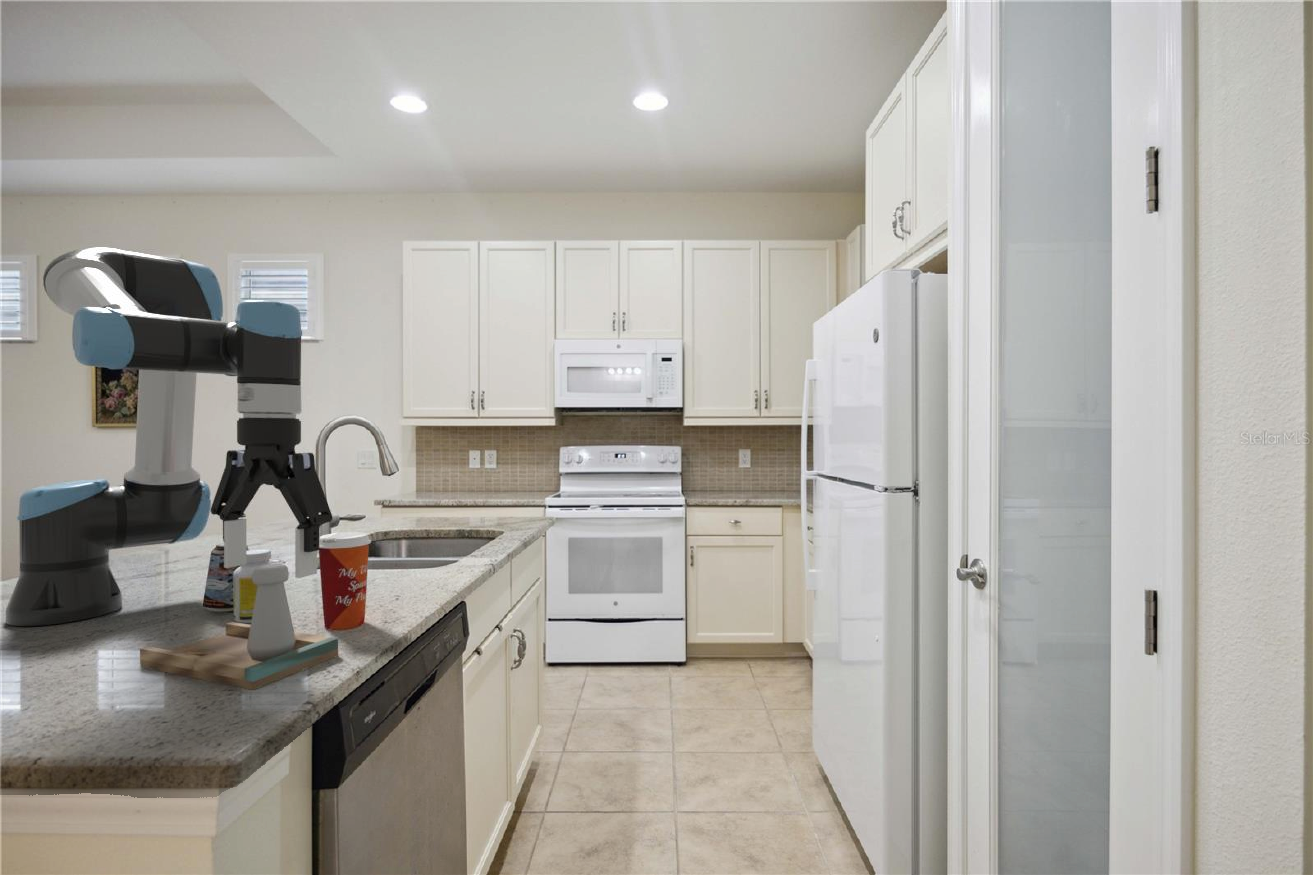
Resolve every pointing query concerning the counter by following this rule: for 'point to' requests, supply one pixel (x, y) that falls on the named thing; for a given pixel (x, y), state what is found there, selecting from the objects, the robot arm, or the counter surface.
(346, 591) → the coffee cup
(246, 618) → the pill bottle
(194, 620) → the counter surface
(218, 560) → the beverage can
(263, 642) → the salt shaker
